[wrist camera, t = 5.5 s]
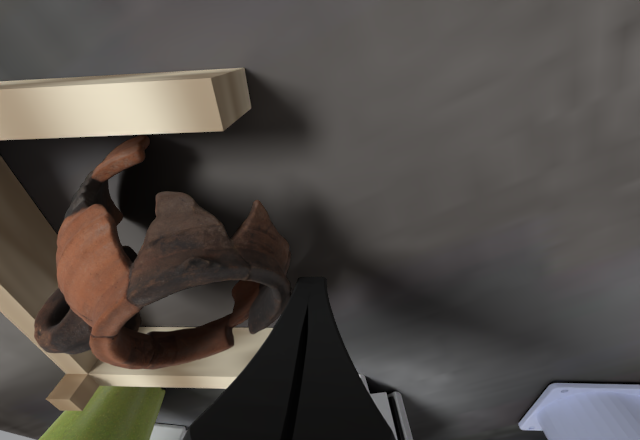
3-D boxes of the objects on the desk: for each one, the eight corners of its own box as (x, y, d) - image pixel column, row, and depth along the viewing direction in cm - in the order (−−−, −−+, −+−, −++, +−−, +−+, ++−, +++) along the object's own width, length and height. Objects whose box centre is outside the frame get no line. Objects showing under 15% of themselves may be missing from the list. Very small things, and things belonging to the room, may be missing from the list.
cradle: (244, 67, 11) (187, 85, 7) (292, 340, 21) (282, 416, 16) (-83, 86, 12) (-315, 111, 8) (113, 338, 22) (60, 410, 17)
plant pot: (92, 340, 22) (-27, 489, 15) (201, 382, 25) (145, 523, 18) (68, 383, 26) (-34, 515, 19) (163, 414, 29) (106, 539, 22)
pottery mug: (175, 71, 11) (205, 204, 6) (288, 191, 19) (342, 294, 14) (-25, 233, 13) (-125, 444, 8) (156, 285, 20) (163, 409, 15)
